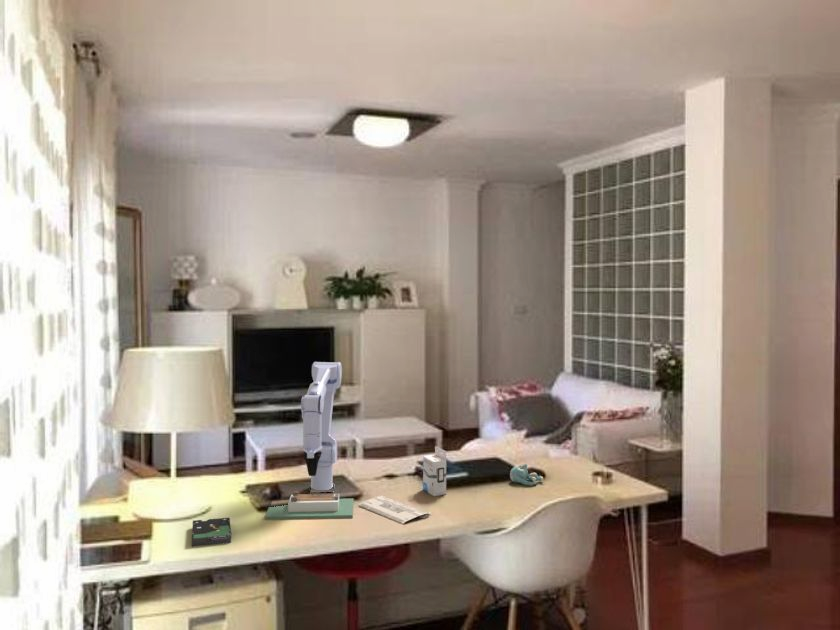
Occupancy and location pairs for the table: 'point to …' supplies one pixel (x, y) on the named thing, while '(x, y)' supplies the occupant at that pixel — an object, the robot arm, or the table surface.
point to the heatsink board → (310, 515)
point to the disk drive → (211, 532)
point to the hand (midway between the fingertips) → (312, 475)
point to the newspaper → (393, 509)
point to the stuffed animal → (524, 476)
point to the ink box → (435, 473)
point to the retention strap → (315, 496)
